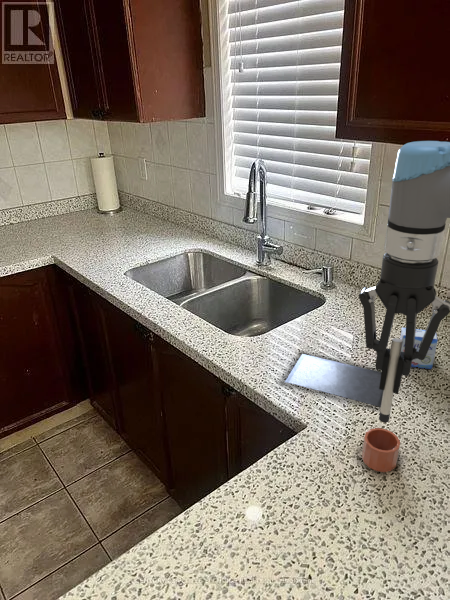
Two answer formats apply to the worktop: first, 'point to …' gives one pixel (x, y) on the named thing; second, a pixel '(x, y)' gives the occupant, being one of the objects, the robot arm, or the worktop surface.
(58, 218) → the worktop surface
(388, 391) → the stylus
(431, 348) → the medicine box
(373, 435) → the pen cup
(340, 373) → the tablet
